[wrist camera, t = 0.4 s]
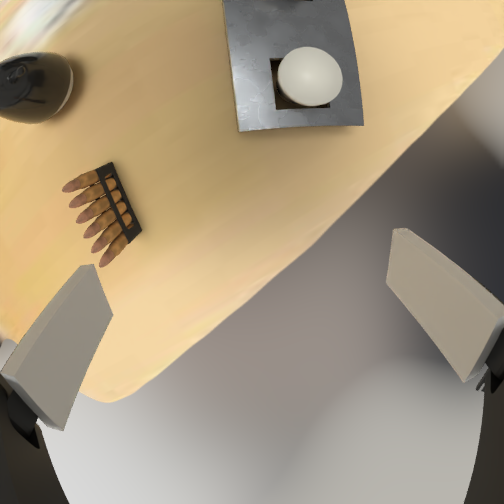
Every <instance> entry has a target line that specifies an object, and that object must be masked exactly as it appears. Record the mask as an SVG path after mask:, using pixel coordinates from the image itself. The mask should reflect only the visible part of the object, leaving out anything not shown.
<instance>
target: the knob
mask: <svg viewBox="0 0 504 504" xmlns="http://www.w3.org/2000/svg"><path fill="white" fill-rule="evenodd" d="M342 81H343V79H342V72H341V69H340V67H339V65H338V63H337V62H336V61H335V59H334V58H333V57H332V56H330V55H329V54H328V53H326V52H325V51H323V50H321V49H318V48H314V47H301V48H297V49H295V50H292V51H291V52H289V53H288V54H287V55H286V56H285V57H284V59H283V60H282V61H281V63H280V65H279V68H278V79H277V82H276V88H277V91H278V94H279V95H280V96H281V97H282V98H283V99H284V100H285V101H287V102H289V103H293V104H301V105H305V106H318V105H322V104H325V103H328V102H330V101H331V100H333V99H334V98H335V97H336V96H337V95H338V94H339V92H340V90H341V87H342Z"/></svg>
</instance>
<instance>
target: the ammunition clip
mask: <svg viewBox="0 0 504 504" xmlns="http://www.w3.org/2000/svg"><path fill="white" fill-rule="evenodd" d="M99 181H100V182H99ZM97 182H99V183H97ZM95 183H97V184H95ZM88 186H90V187H89V188H87V189H86V190H84V191H83V192H82V193H81V194H80V195H78V196H76V197H75V198H74V199H73V200H72V201H71V202H70V204H69V207H70V208H76V207H79V206H82V205H83V204H86V203H89V202H92V201H94V200H96V201H95V202H93V203H92V204H91V205H90V206H89V207H88V208H87V209H86V210H84V211H83V212H82V213H81V214H80V215H79V216H78V218H77V220H76V223H79V224H80V223H84V222H86V221H88V220H90V219H92V218H93V217H95V216H98V215H100V214H101V213H102V214H101V215H100V216H99V217H97V218H96V220H95V221H94V222H93V223H92V224H91V225H90V226H89V227H88V228H87V230H86V231H85V233H84V238H90V237H93V236H94V235H96V234H97V233H98V232H100V231H101V230H103V229H105V228H106V227H107V228H106V229H105V230H104V231H103V233H102V234H101V236H100V237H99V238H98V239H97V240H96V242H95V243H94V245H93V247H92V249H91V253H96V252H99V251H100V250H102V249H103V248H104V247H105V246H106V245H107V244H109V243H111V242H112V243H111V244H110V245H109V247H108V249H107V250H106V252H105V253H104V254H103V256H102V258H101V260H100V263H99V267H100V268H101V267H104V266H106V265H107V264H109V263H110V262H111V261H112V260H113V259H114V258H115V257H116V256H117V255H119V254H120V253H121V251H122V250H123V249H124V248H125V246H126V245H127V244H129V243H130V242H131V241H132V240H133V239H134V238H135V237H136V236H137V235H138V234H139V233H140V232H141V231H142V229H141V227H140V225H139V223H138V221H137V218H136V216H135V214H134V212H133V210H132V208H131V205H130V203H129V201H128V199H127V196H126V194H125V192H124V189H123V187H122V185H121V182H120V180H119V178H118V175H117V173H116V170H115V168H114V166H113V163H112V162H110V163H108V164H106V165H103V166H101V167H99V168H97V169H95V170H92V171H89V172H87V173H84V174H82V175H80V176H79V177H77V178H76V179H74V180H72V181H70V182H68V183H67V184H66V185H65V186H64V187H63V189H62V191H63V192H73V191H75V190H78V189H83V188H86V187H88ZM104 194H106V195H104ZM102 195H104V196H103V197H101V196H102ZM100 197H101V198H100ZM109 207H110V208H109ZM108 208H109V209H108ZM107 209H108V210H107ZM114 220H115V221H114ZM113 221H114V222H113ZM112 222H113V223H112Z"/></svg>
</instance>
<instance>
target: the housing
mask: <svg viewBox="0 0 504 504" xmlns="http://www.w3.org/2000/svg"><path fill="white" fill-rule="evenodd" d="M222 6H223V14H224V22H225V30H226V38H227V46H228V54H229V62H230V70H231V78H232V86H233V94H234V102H235V110H236V118H237V126H238V132H243V131H252V130H261V129H273V128H286V127H304V126H364V120H363V108H362V98H361V89H360V81H359V74H358V67H357V60H356V54H355V48H354V42H353V37H352V32H351V27H350V22H349V18H348V14H347V9H346V5H345V1H344V0H310V1H302V0H222ZM301 47H314V48H318V49H321V50H323V51H325V52H326V53H328V54H329V55H330V56H332V57H333V58H334V59H335V61H336V62H337V63H338V65H339V67H340V69H341V72H342V79H343V81H342V87H341V90H340V92H339V94H338V95H337V96H336V97H335V98H334V99H333V100H331V101H330V102H328V103H327V108H304V109H282V110H276V105H275V97H274V89H273V81H272V73H271V65H270V60H283V59H284V57H285V56H286V55H287V54H288V53H289V52H291V51H292V50H295V49H297V48H301Z"/></svg>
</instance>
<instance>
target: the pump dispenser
mask: <svg viewBox="0 0 504 504" xmlns="http://www.w3.org/2000/svg"><path fill="white" fill-rule="evenodd" d="M72 88H73V72H72V69H71V67H70V65H69V63H68V61H67V60H66V58H65V57H63V56H62V55H60V54H57V53H53V52H31V53H25V54H20V55H16V56H13V57H10V58H8V59H5V60H3V61H2V62H0V117H2V118H5V119H7V120H10V121H14V122H19V123H25V124H38V123H42V122H44V121H46V120H48V119H49V118H51V117H52V116H53V115H55V114H56V113H57V112H59V111H60V110H61V108H62V107H63V106H64V105H65V103H66V102H67V100H68V98H69V96H70V94H71V91H72Z"/></svg>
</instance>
